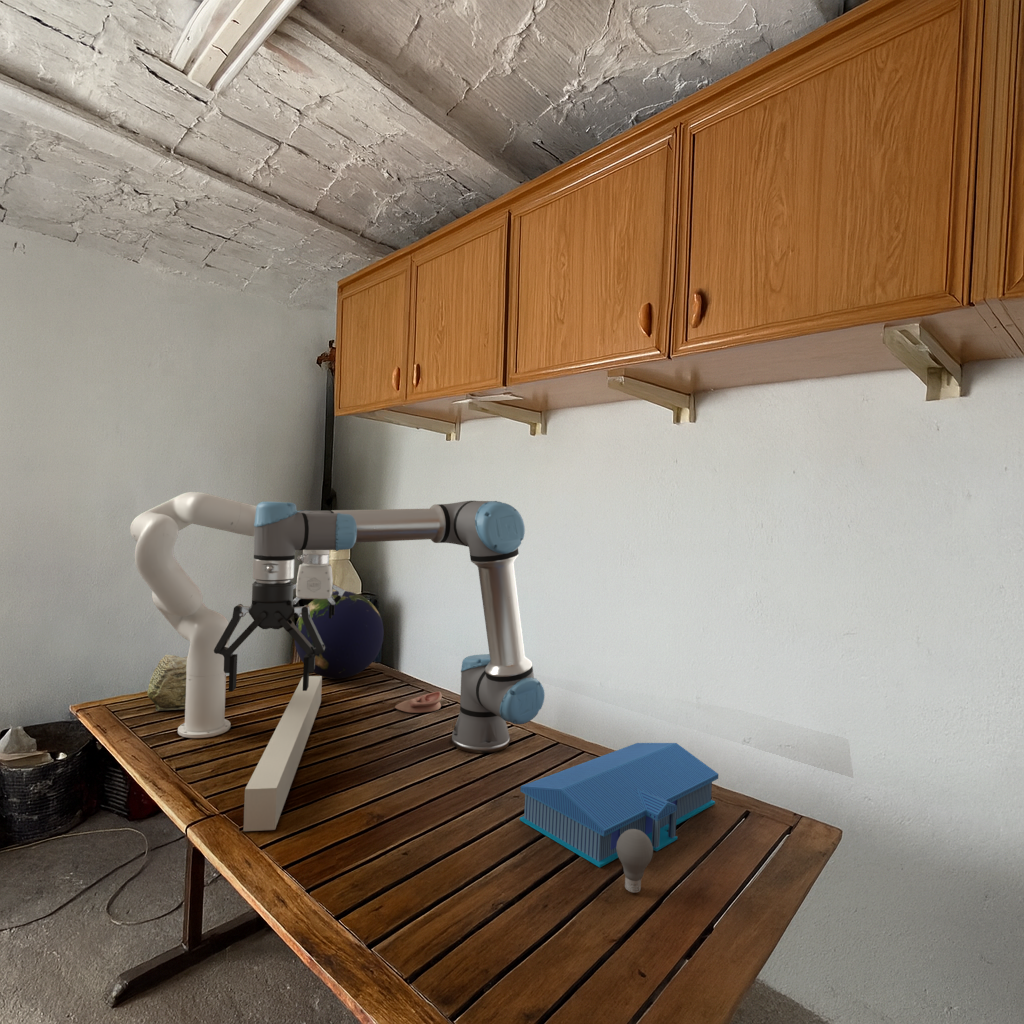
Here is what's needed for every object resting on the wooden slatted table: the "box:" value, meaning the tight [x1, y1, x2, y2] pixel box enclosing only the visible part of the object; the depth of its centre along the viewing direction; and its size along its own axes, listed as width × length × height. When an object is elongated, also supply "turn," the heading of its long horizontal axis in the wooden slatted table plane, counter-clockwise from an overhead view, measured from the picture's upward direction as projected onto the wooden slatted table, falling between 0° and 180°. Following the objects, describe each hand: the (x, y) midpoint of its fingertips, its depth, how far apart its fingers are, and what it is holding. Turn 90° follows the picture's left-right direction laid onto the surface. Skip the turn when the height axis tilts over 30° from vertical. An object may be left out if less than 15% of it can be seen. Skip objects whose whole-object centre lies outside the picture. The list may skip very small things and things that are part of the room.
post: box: [243, 675, 323, 832], centre depth 156 cm, size 76×6×8 cm, turn 11°
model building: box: [519, 742, 719, 868], centre depth 132 cm, size 39×24×10 cm, turn 132°
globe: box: [294, 590, 385, 680], centre depth 220 cm, size 30×30×30 cm
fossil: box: [147, 654, 188, 712], centre depth 185 cm, size 9×18×15 cm, turn 132°
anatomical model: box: [394, 691, 443, 714], centre depth 193 cm, size 13×4×12 cm
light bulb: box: [616, 829, 654, 894], centre depth 106 cm, size 6×6×10 cm
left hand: (313, 617), depth 188 cm, fingers open, 9 cm apart
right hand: (269, 689), depth 124 cm, fingers open, 13 cm apart
